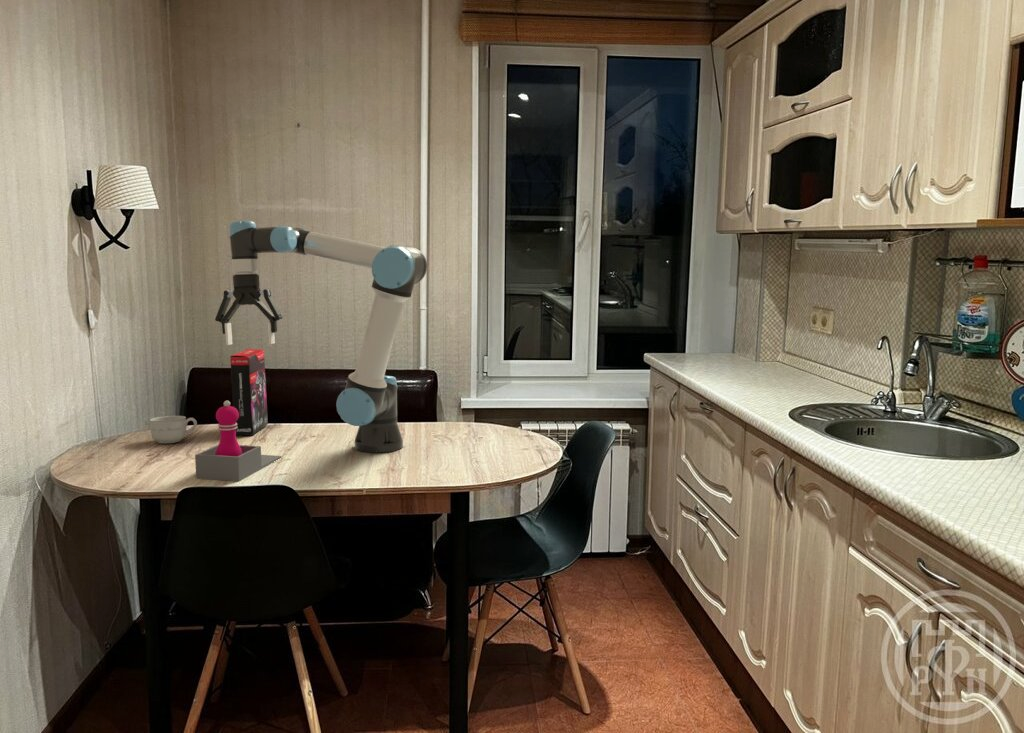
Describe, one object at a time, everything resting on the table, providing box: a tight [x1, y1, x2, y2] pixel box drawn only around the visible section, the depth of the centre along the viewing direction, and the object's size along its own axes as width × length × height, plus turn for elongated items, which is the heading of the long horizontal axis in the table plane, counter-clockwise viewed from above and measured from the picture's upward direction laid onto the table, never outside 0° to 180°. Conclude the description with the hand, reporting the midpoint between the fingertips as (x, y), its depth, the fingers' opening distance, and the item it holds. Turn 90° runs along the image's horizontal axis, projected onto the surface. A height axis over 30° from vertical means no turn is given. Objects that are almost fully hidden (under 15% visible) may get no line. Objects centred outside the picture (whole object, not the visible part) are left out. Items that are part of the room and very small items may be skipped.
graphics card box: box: [230, 348, 269, 437], centre depth 275 cm, size 17×7×27 cm, turn 0°
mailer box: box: [194, 443, 282, 482], centre depth 230 cm, size 13×25×7 cm, turn 170°
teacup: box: [149, 415, 198, 444], centre depth 260 cm, size 14×11×8 cm
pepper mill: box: [215, 400, 242, 456], centre depth 223 cm, size 7×7×20 cm
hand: (250, 344), depth 245 cm, fingers open, 13 cm apart
